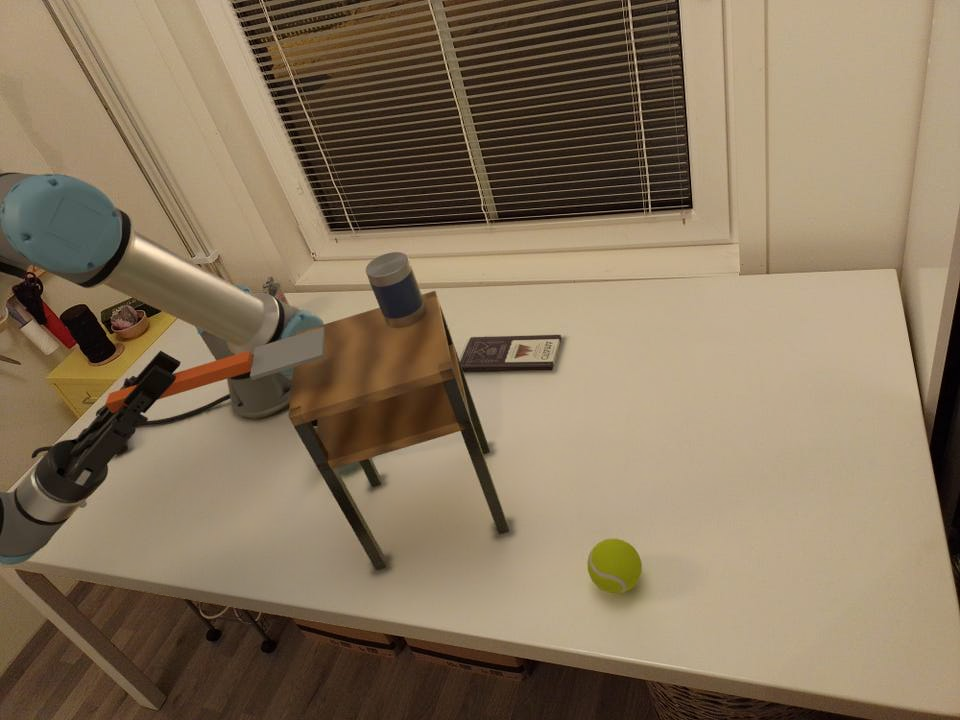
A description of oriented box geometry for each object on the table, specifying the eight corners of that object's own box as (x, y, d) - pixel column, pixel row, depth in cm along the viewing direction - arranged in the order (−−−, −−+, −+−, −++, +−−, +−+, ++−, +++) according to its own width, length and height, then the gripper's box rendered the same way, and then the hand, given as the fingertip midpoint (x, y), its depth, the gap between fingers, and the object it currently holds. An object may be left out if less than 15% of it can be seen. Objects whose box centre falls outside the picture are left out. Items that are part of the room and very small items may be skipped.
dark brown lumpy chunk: (128, 430, 144) (119, 419, 142) (129, 450, 138) (120, 439, 136) (106, 441, 143) (97, 429, 141) (106, 461, 137) (96, 450, 135)
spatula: (107, 424, 84) (100, 414, 83) (120, 392, 88) (113, 383, 87) (324, 358, 83) (319, 347, 82) (325, 330, 88) (320, 320, 87)
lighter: (287, 327, 160) (269, 291, 154) (273, 330, 160) (254, 294, 154) (295, 307, 166) (277, 272, 160) (281, 310, 167) (263, 275, 161)
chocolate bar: (470, 337, 138) (560, 334, 131) (471, 341, 138) (561, 338, 132) (457, 367, 131) (551, 366, 125) (459, 371, 132) (552, 370, 125)
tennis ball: (586, 599, 89) (577, 568, 85) (597, 555, 94) (590, 524, 90) (639, 609, 87) (632, 578, 83) (648, 563, 91) (643, 531, 87)
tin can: (386, 332, 91) (365, 281, 86) (384, 309, 96) (364, 259, 91) (428, 320, 91) (410, 268, 86) (424, 297, 95) (406, 246, 91)
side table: (376, 570, 101) (288, 417, 82) (371, 480, 115) (296, 332, 97) (509, 531, 101) (451, 368, 82) (488, 445, 115) (435, 290, 96)
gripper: (108, 451, 99) (205, 345, 92) (75, 536, 87) (185, 421, 80) (54, 426, 95) (152, 313, 88) (13, 511, 83) (122, 389, 76)
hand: (167, 365), depth 84 cm, fingers closed on spatula, 2 cm apart
